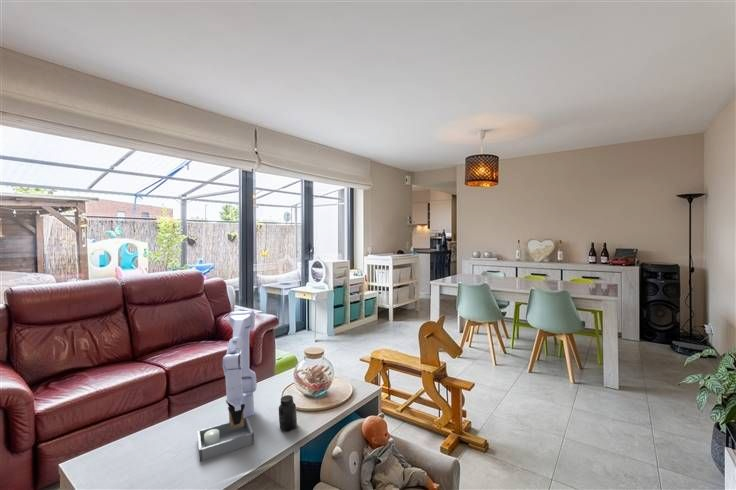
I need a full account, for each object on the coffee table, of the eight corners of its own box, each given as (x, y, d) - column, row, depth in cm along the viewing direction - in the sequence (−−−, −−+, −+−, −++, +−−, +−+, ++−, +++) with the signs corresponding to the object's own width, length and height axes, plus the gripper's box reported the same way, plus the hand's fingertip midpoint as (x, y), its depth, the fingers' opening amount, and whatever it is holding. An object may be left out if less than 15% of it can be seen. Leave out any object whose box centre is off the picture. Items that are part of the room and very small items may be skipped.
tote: (197, 442, 128) (197, 430, 128) (247, 427, 137) (247, 416, 137) (199, 463, 117) (199, 450, 116) (254, 445, 125) (253, 433, 125)
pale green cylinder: (204, 444, 125) (203, 431, 125) (219, 440, 128) (218, 427, 128) (205, 452, 121) (204, 439, 121) (220, 447, 124) (219, 434, 123)
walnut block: (229, 423, 129) (228, 408, 129) (241, 420, 131) (241, 405, 131) (231, 429, 125) (230, 414, 125) (243, 426, 128) (243, 410, 127)
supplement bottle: (291, 420, 141) (289, 391, 140) (300, 426, 136) (299, 397, 135) (276, 427, 136) (274, 398, 135) (285, 434, 131) (283, 404, 131)
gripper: (248, 390, 123) (250, 426, 124) (242, 375, 136) (243, 408, 136) (227, 395, 120) (230, 433, 120) (223, 379, 132) (225, 413, 133)
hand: (236, 420), depth 128 cm, fingers closed on walnut block, 4 cm apart
